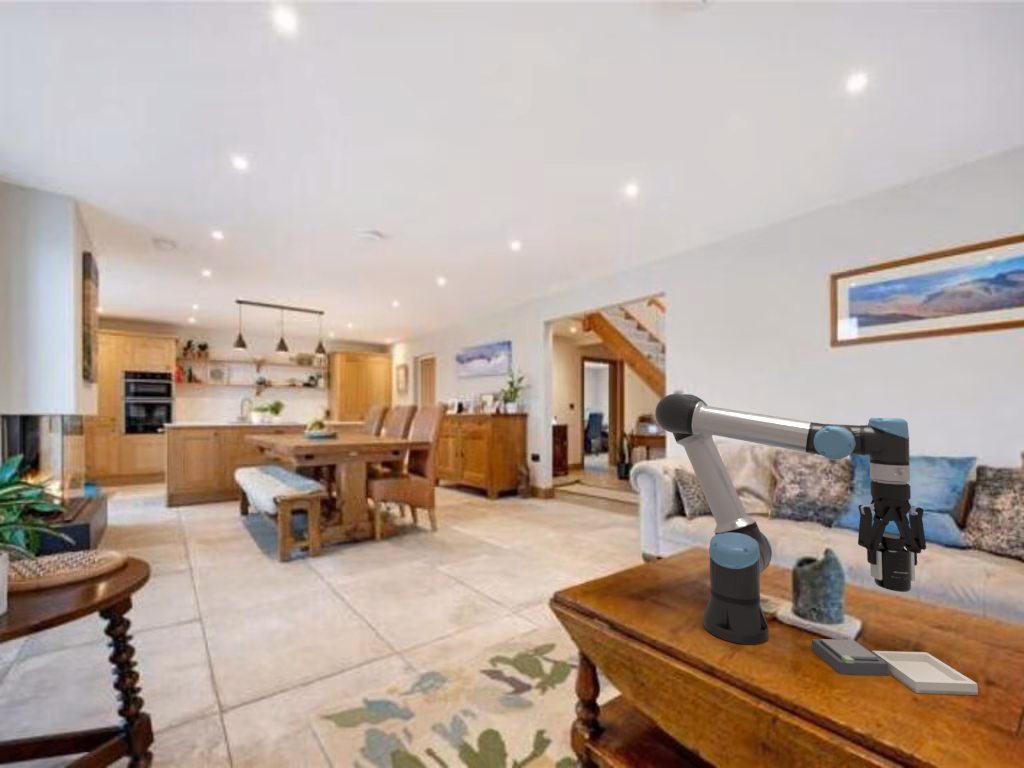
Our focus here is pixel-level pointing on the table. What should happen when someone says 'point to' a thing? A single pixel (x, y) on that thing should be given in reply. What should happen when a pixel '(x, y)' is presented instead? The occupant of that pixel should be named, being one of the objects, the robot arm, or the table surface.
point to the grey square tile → (848, 649)
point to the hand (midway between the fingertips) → (892, 578)
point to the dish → (926, 673)
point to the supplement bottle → (894, 564)
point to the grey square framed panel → (850, 662)
